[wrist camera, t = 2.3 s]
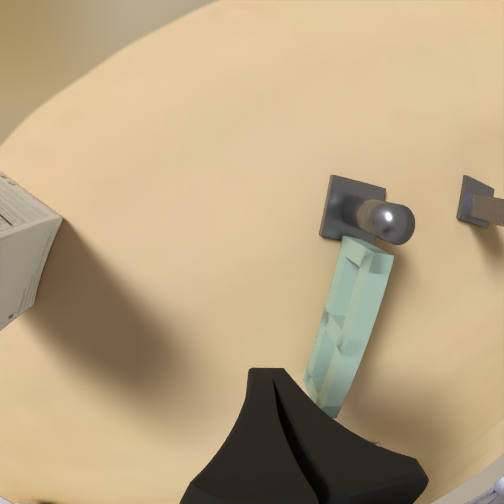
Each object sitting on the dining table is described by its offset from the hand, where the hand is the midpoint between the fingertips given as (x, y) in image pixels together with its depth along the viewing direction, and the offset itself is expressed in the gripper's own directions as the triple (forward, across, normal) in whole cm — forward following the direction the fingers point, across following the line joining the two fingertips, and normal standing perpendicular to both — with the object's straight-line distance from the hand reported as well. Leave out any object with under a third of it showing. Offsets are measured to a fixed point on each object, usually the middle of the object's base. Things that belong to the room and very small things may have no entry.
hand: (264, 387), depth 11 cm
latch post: (+8, -16, -8) cm, 20 cm away
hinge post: (+8, -6, -6) cm, 12 cm away
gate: (+7, -5, 0) cm, 9 cm away
